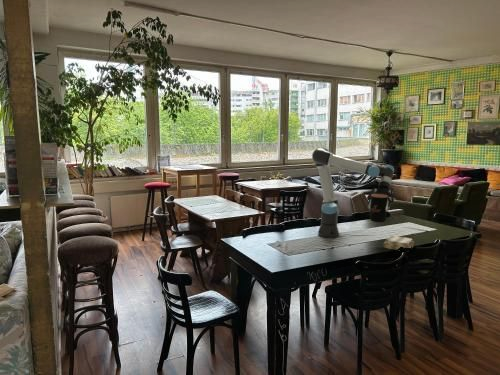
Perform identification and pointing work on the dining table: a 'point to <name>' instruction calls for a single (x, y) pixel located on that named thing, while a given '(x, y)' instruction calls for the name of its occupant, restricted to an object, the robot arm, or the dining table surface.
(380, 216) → the coffee jar
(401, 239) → the cream lumpy slab
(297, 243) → the dining table surface
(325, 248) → the dining table surface
